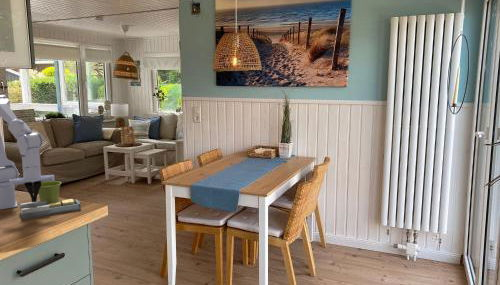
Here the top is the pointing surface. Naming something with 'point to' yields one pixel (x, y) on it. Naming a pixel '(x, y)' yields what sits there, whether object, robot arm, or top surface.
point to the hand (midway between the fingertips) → (34, 201)
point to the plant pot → (49, 191)
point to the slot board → (34, 209)
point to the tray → (66, 208)
